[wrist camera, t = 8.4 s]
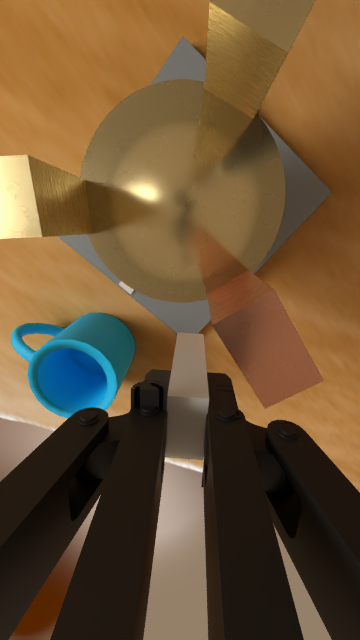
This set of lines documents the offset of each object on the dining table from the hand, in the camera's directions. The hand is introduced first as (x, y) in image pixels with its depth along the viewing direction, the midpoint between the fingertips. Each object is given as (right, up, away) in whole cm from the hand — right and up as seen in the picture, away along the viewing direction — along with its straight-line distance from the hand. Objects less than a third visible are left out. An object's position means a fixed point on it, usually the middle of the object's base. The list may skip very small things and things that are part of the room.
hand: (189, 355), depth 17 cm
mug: (-12, 0, +17) cm, 20 cm away
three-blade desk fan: (+1, +8, +3) cm, 9 cm away
